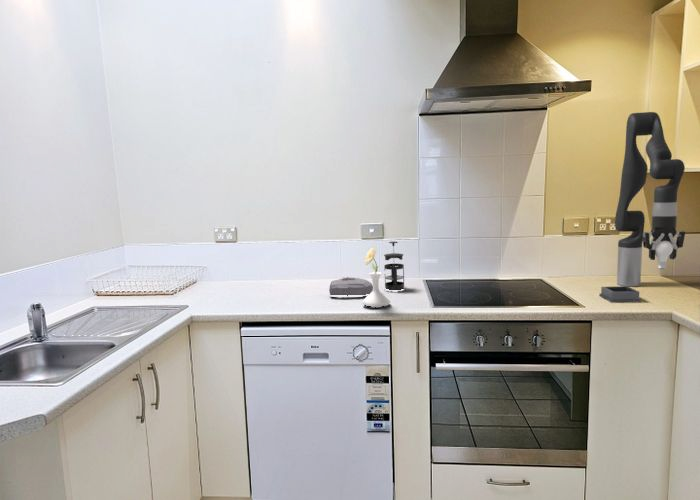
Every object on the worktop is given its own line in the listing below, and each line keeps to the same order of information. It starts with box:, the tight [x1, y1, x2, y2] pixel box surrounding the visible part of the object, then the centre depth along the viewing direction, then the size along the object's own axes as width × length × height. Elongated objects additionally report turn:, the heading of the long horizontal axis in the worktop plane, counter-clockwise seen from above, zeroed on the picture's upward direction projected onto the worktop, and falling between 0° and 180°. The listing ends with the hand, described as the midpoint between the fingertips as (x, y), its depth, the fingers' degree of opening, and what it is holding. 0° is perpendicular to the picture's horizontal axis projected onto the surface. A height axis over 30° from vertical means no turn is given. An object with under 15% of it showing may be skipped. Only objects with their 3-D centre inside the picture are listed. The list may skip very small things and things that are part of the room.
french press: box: [383, 241, 405, 290], centre depth 220 cm, size 12×9×23 cm
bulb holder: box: [598, 285, 642, 304], centre depth 188 cm, size 11×11×4 cm
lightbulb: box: [655, 241, 673, 270], centre depth 175 cm, size 6×6×11 cm
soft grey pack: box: [328, 276, 373, 296], centre depth 214 cm, size 15×8×20 cm
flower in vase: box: [362, 246, 391, 308], centre depth 191 cm, size 13×11×25 cm
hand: (662, 259), depth 176 cm, fingers closed on lightbulb, 6 cm apart
